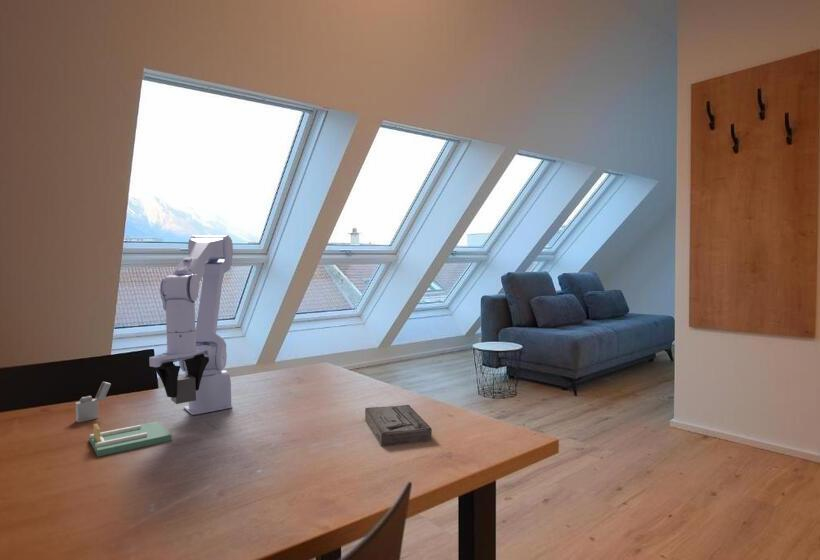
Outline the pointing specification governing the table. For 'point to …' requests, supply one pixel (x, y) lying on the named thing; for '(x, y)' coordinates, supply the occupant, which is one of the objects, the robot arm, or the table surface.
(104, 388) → the lighter
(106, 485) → the table surface
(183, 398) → the plug
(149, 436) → the header board
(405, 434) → the box
